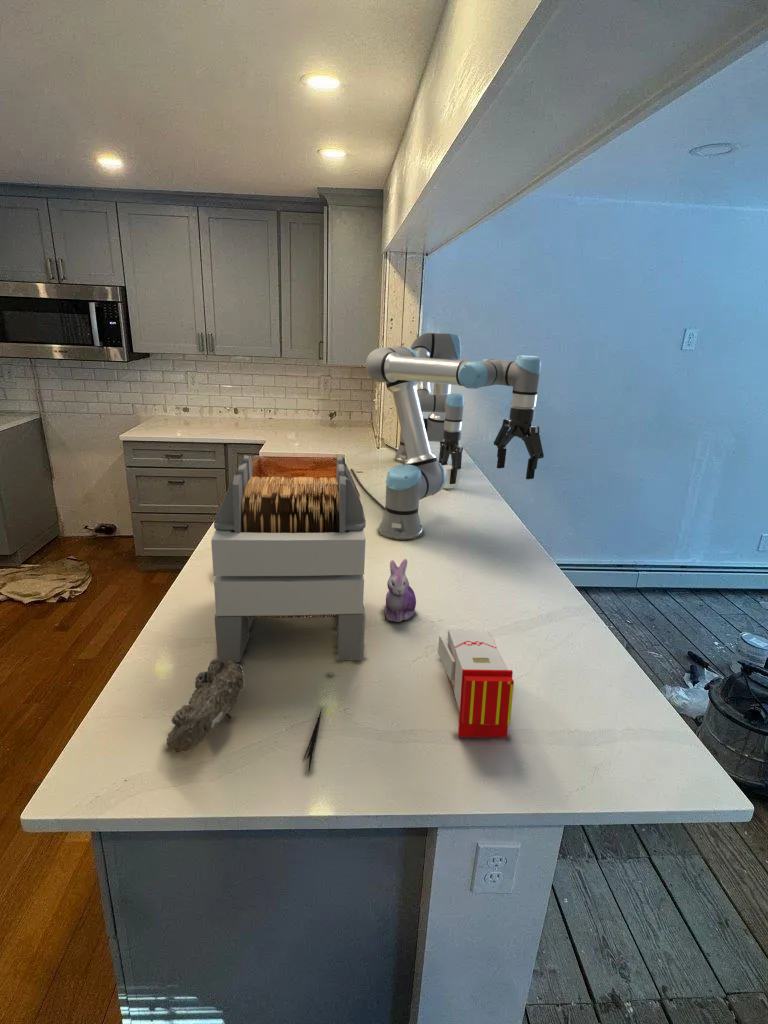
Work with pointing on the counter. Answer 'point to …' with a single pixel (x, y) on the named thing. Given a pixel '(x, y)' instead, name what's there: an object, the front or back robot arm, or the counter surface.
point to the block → (448, 473)
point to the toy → (478, 682)
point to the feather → (313, 740)
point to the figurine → (399, 594)
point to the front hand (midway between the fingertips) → (514, 473)
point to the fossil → (206, 705)
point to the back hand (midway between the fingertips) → (448, 481)
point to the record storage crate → (289, 556)
